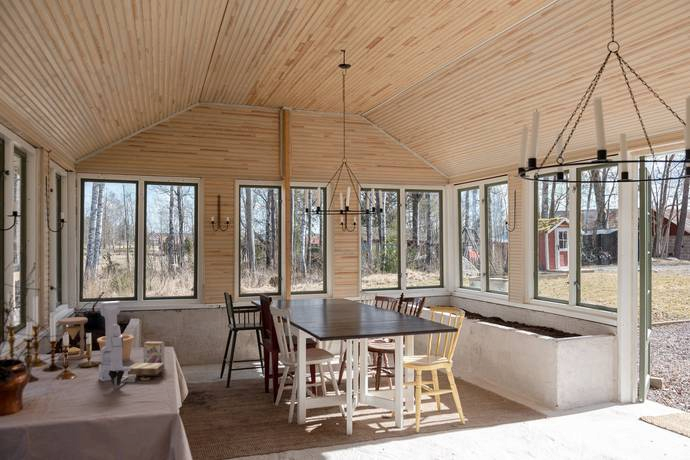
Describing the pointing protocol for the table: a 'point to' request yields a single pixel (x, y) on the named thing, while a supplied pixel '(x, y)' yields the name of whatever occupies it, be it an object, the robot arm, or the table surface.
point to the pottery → (126, 346)
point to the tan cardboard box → (147, 369)
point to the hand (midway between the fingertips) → (116, 384)
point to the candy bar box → (154, 352)
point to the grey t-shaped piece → (123, 380)
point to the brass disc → (145, 378)
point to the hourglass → (73, 330)
